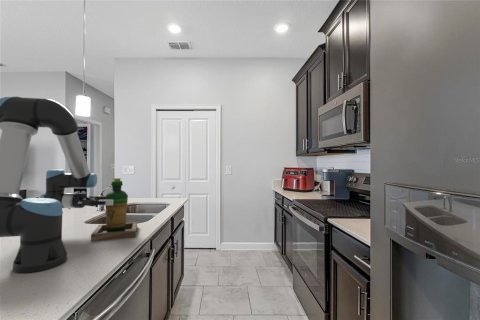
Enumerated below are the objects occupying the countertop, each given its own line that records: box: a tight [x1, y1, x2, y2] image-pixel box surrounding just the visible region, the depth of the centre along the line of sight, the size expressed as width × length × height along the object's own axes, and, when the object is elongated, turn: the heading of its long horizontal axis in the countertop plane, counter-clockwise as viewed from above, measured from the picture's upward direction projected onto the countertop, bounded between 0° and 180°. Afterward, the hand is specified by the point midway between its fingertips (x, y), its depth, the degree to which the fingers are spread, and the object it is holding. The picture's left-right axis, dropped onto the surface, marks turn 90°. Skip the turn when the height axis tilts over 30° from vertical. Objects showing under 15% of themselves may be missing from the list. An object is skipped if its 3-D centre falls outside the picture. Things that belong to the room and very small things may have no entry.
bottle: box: [105, 177, 129, 232], centre depth 124 cm, size 11×11×28 cm
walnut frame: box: [90, 221, 138, 242], centre depth 124 cm, size 19×19×3 cm
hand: (118, 200), depth 125 cm, fingers open, 13 cm apart
